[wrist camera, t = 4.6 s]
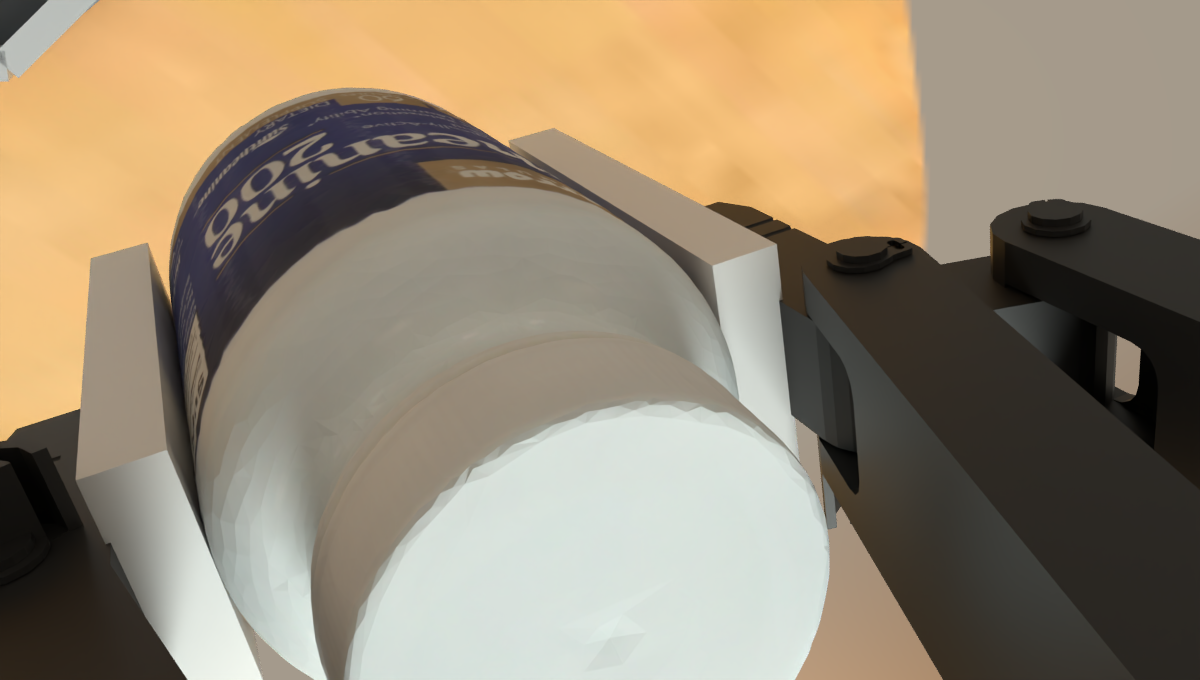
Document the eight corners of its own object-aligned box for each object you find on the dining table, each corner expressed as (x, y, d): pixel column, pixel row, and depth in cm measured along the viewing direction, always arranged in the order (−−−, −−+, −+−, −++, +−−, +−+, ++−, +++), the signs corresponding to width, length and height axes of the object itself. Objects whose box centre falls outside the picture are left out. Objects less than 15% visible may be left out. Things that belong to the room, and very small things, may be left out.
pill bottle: (497, 51, 16) (918, 221, 8) (540, 371, 18) (902, 767, 10) (115, 117, 14) (123, 429, 6) (216, 460, 16) (326, 1031, 8)
